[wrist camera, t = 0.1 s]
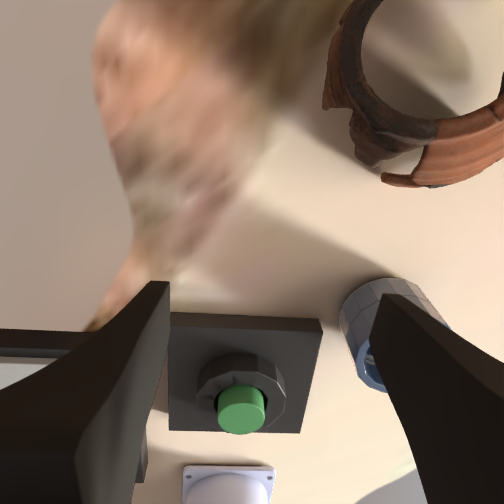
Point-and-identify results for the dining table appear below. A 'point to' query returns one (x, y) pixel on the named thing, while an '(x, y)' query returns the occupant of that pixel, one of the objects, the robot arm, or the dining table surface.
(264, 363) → the block
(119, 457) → the robot arm
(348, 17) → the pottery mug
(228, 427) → the button
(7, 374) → the scale
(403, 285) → the cup
